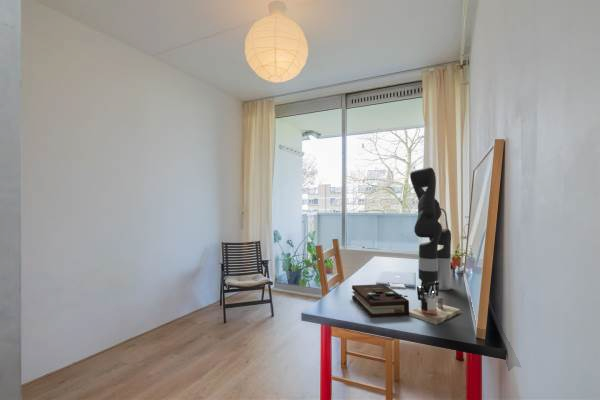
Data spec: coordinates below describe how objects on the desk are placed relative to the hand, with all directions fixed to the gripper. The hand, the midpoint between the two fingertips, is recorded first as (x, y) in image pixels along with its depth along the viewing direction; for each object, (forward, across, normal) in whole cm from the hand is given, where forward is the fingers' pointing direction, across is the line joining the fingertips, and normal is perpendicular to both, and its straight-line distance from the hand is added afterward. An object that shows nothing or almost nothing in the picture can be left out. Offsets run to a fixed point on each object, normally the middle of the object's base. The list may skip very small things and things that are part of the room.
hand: (428, 308), depth 121 cm
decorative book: (+4, +6, -21) cm, 22 cm away
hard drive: (+4, -29, -35) cm, 46 cm away
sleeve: (+1, 0, 0) cm, 1 cm away
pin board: (+3, -5, 0) cm, 6 cm away
